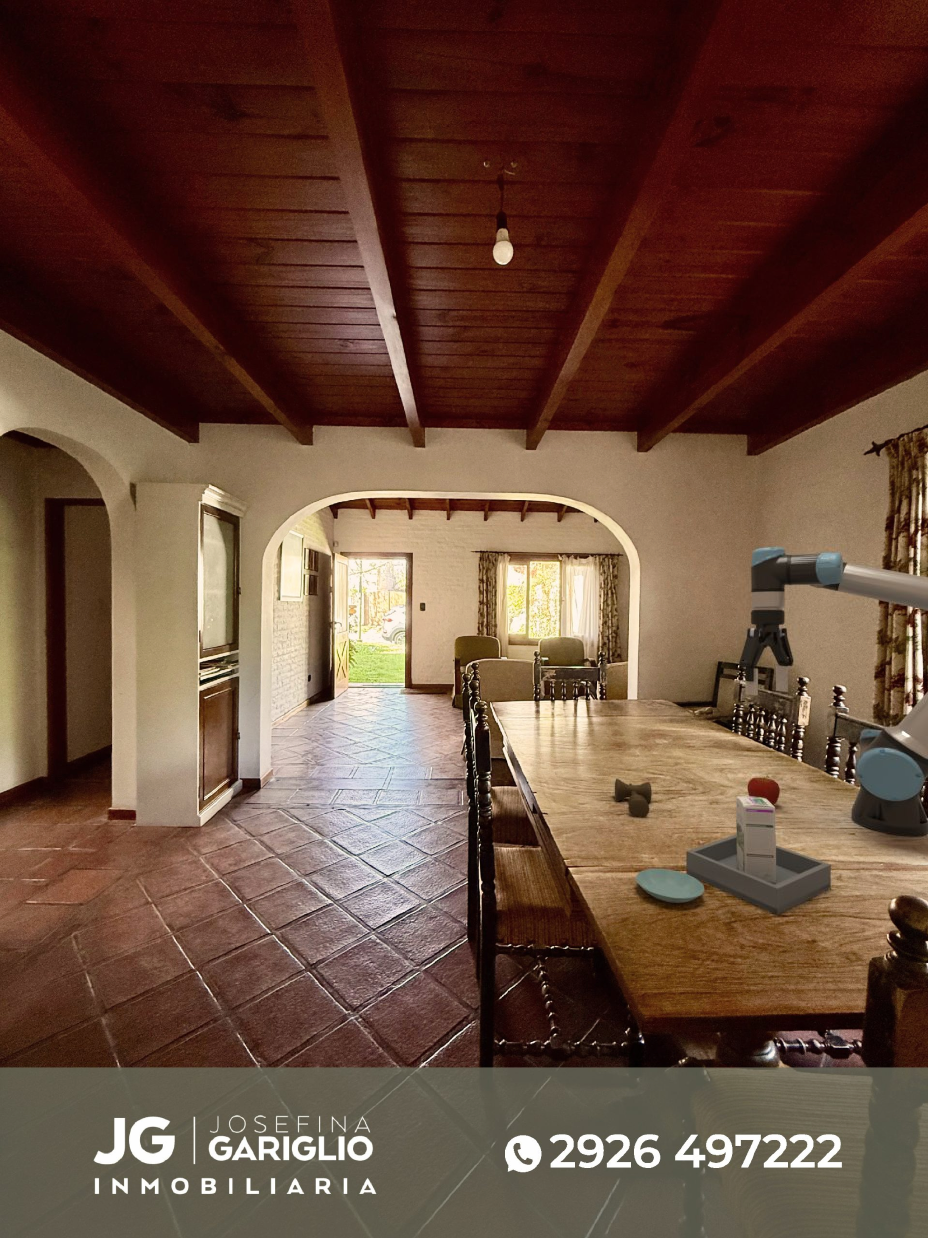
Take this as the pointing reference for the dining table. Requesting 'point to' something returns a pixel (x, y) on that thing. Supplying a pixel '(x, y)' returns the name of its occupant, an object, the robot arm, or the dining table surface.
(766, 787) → the apple
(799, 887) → the tray
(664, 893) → the saucer
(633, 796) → the kendama
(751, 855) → the syrup box
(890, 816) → the robot arm
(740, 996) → the dining table surface
